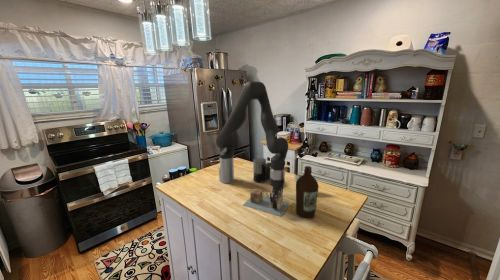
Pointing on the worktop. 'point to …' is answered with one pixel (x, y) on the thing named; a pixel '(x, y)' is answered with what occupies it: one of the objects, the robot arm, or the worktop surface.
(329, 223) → the worktop surface
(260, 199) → the walnut block
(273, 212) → the mat
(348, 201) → the worktop surface
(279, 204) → the maple block
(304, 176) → the olive oil
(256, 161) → the milk frother
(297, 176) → the food container
